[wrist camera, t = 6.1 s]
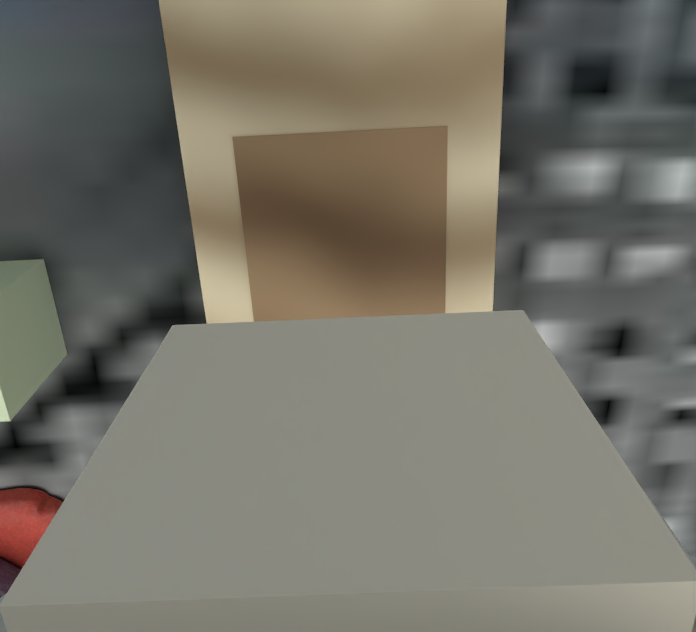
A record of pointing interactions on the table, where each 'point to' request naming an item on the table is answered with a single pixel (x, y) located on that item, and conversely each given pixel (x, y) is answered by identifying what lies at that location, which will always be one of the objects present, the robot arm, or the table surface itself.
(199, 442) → the cream block
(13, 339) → the sage cube
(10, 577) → the stacking bear
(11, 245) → the table surface
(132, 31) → the table surface
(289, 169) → the base board
